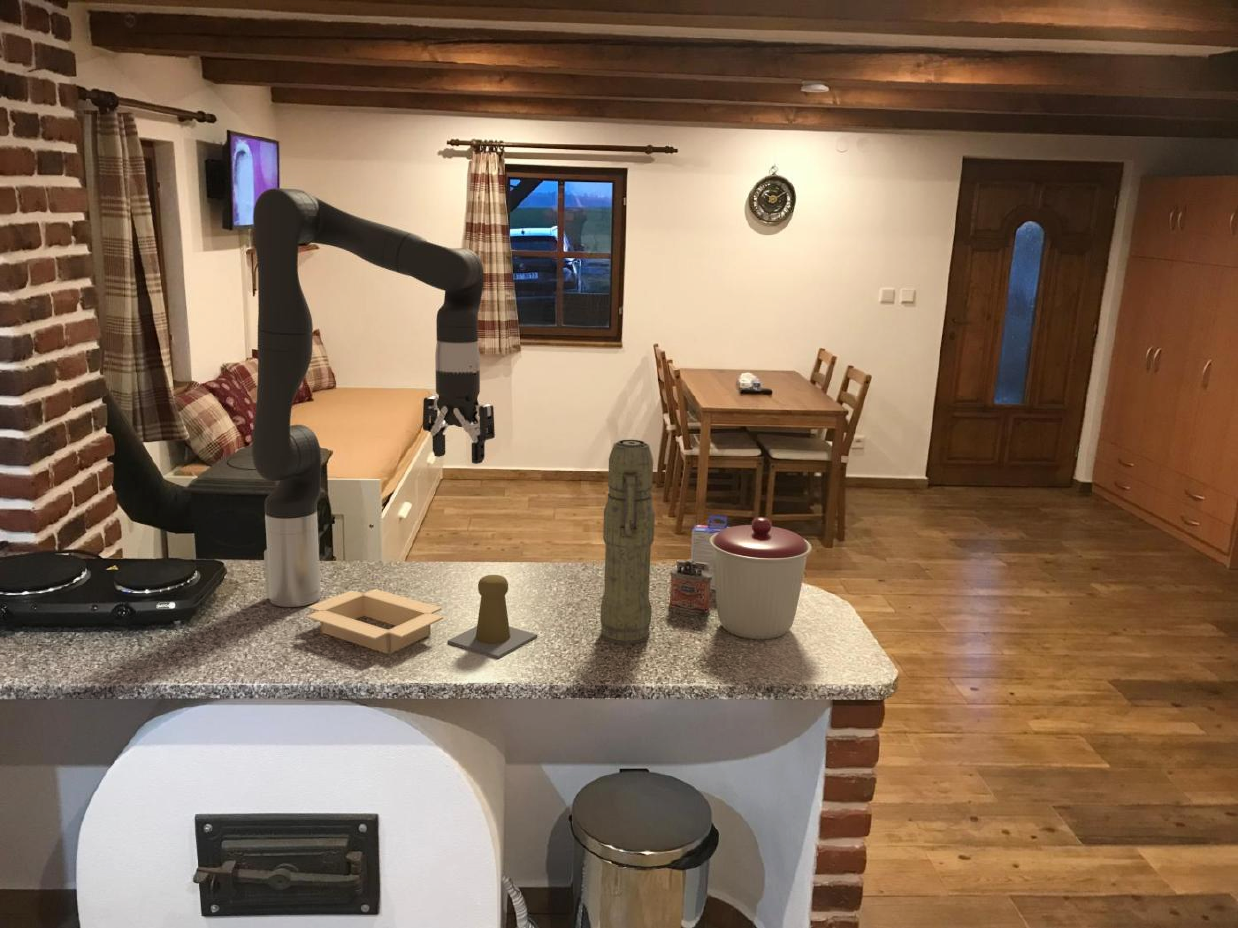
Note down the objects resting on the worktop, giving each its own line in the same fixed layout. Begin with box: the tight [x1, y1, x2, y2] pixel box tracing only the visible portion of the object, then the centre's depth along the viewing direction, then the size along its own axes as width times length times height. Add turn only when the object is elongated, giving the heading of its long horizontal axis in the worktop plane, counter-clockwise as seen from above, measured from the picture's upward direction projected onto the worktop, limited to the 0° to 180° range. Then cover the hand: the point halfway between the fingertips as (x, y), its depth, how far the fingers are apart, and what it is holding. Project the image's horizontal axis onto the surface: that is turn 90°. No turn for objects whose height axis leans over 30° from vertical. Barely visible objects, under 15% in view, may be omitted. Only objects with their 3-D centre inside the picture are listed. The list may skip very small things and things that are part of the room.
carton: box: [305, 588, 444, 655], centre depth 171 cm, size 22×16×4 cm
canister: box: [710, 516, 813, 640], centre depth 176 cm, size 18×18×21 cm
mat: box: [447, 625, 538, 660], centre depth 170 cm, size 11×11×1 cm
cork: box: [476, 574, 510, 644], centre depth 169 cm, size 6×6×11 cm
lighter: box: [668, 558, 712, 616], centre depth 185 cm, size 8×3×10 cm, turn 68°
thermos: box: [599, 439, 656, 645], centre depth 170 cm, size 9×12×35 cm
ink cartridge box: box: [690, 514, 731, 591], centre depth 198 cm, size 10×6×14 cm, turn 78°
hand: (458, 459), depth 171 cm, fingers open, 8 cm apart
